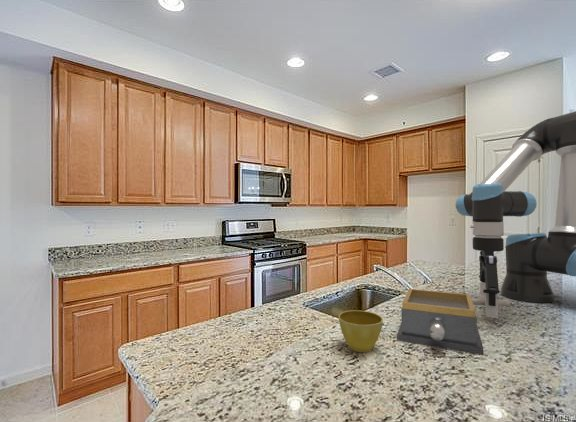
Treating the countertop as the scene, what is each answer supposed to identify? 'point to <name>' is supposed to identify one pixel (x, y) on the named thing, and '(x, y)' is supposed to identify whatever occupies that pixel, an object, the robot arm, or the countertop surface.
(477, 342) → the grey gold-rimmed box
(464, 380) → the countertop surface
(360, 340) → the flower pot
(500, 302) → the pipe connector
